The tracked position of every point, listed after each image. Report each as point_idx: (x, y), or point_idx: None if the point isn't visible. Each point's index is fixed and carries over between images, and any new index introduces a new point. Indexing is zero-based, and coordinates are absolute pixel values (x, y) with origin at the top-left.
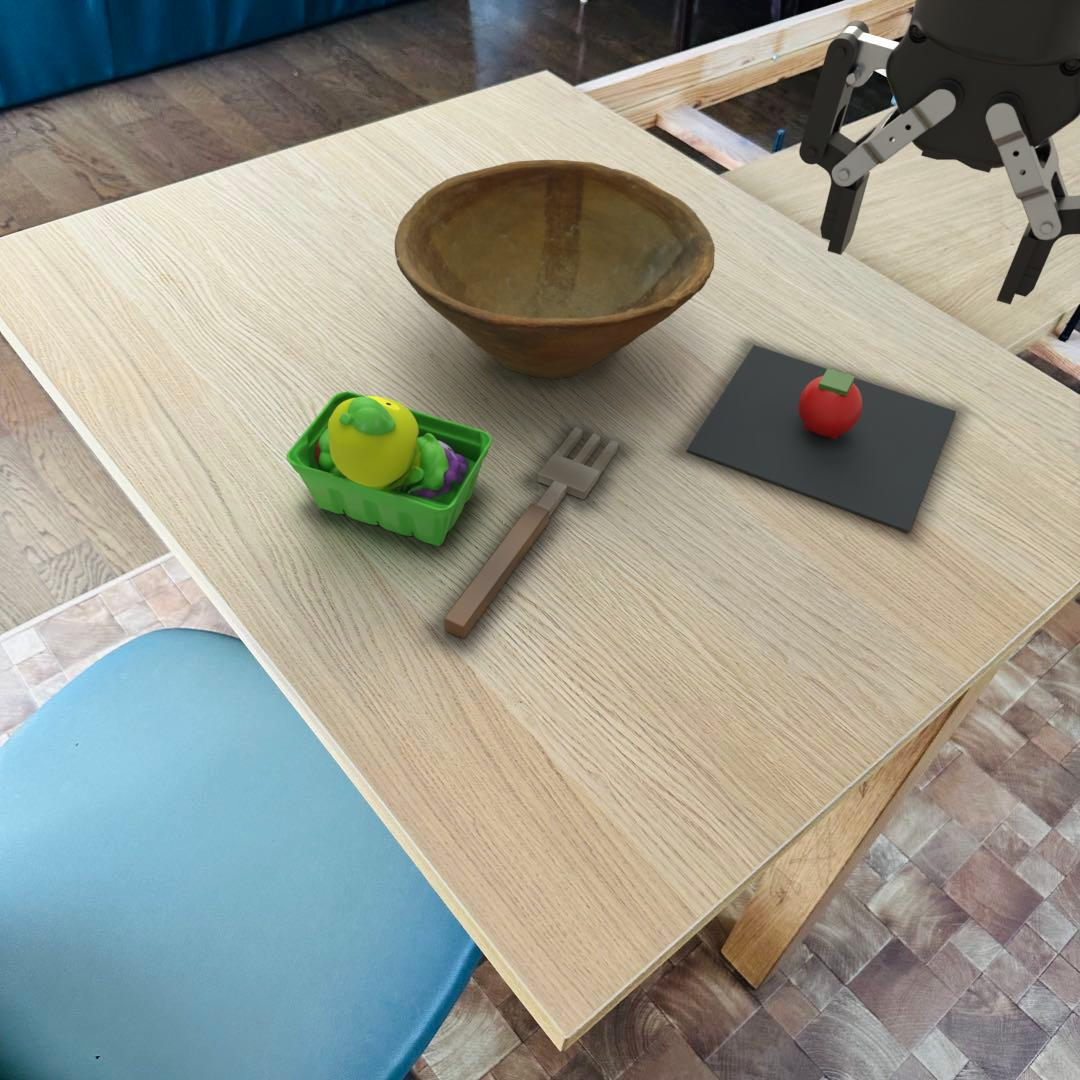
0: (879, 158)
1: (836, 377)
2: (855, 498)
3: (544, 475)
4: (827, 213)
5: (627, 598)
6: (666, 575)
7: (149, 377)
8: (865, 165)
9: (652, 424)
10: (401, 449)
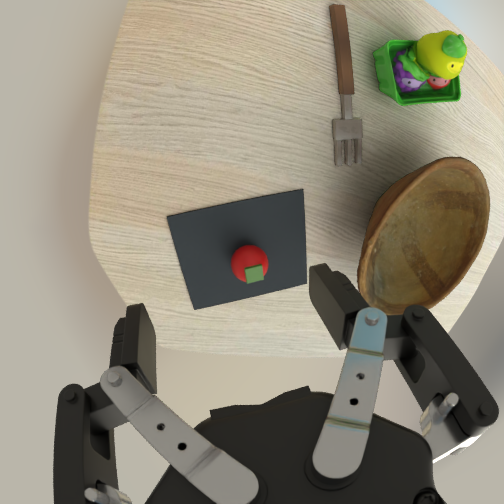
0: (355, 350)
1: (255, 276)
2: (203, 218)
3: (358, 119)
4: (351, 287)
5: (274, 68)
6: (265, 96)
7: (495, 98)
8: (360, 338)
9: (327, 195)
10: (430, 46)
